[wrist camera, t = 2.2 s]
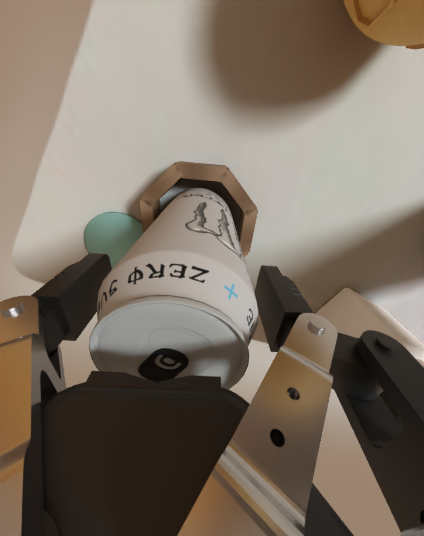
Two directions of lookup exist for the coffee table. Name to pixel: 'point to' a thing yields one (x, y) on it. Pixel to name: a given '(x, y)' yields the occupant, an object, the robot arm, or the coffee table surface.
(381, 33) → the stress ball
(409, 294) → the coffee table surface
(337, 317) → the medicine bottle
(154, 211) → the collar
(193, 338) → the energy drink can
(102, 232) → the coaster
